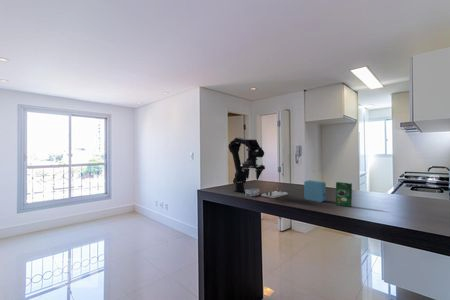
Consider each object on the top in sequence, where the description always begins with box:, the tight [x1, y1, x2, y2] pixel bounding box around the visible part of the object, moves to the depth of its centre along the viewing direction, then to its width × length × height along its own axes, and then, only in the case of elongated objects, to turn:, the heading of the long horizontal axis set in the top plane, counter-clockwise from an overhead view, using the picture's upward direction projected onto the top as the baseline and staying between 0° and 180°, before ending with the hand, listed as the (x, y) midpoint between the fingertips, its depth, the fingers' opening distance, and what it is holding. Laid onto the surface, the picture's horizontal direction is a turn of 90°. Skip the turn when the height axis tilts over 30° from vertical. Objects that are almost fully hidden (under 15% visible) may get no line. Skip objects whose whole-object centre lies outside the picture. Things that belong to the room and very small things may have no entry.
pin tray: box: [260, 188, 289, 199], centre depth 158 cm, size 10×17×3 cm, turn 131°
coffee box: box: [335, 181, 353, 208], centre depth 126 cm, size 8×3×13 cm, turn 54°
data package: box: [303, 179, 327, 203], centre depth 141 cm, size 12×4×12 cm, turn 42°
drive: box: [244, 187, 261, 198], centre depth 159 cm, size 5×10×5 cm, turn 136°
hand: (252, 179), depth 159 cm, fingers open, 9 cm apart
